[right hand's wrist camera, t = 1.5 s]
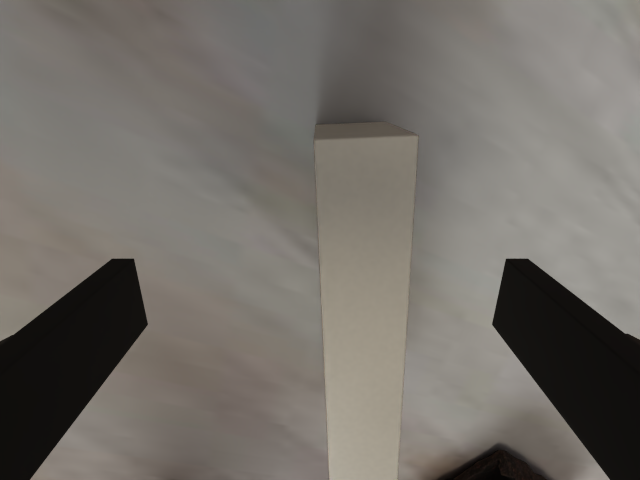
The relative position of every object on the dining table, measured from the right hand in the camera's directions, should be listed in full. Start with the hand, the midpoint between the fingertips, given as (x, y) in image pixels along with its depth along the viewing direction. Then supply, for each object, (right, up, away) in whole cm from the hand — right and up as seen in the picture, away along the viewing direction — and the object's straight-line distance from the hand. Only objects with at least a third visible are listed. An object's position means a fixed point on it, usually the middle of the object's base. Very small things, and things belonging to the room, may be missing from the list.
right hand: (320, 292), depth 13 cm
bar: (+3, -1, +17) cm, 17 cm away
